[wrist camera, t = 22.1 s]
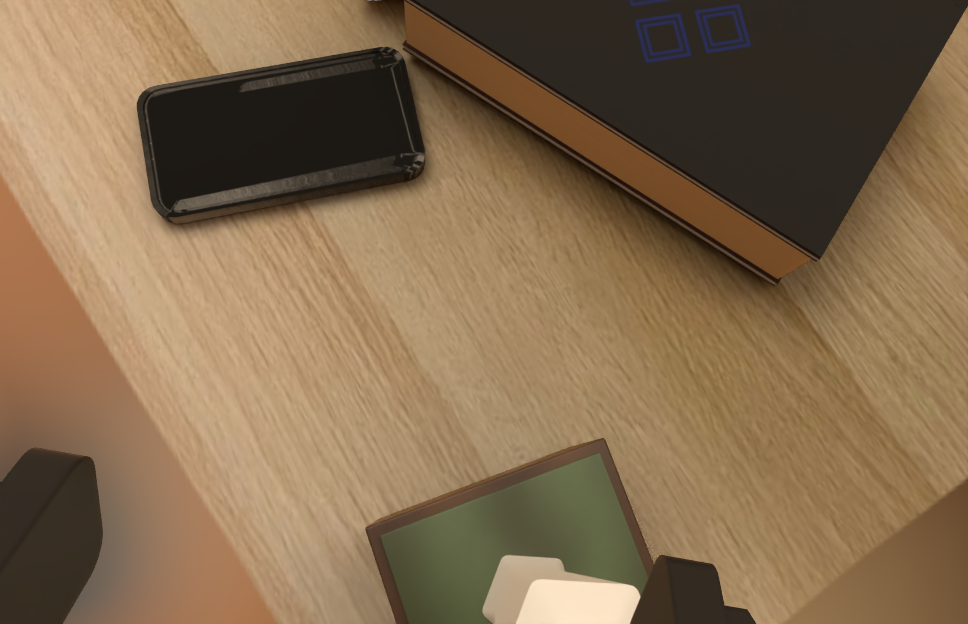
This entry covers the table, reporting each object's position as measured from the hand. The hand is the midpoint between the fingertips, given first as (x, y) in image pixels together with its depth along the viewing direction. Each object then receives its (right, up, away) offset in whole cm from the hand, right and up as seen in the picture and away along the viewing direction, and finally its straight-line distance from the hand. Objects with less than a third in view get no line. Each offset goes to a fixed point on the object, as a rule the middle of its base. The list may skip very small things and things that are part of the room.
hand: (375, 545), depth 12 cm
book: (+12, +18, +38) cm, 44 cm away
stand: (+3, -10, +31) cm, 33 cm away
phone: (-10, +13, +36) cm, 39 cm away
